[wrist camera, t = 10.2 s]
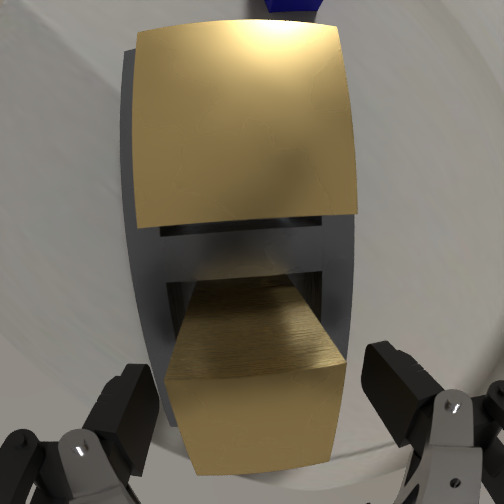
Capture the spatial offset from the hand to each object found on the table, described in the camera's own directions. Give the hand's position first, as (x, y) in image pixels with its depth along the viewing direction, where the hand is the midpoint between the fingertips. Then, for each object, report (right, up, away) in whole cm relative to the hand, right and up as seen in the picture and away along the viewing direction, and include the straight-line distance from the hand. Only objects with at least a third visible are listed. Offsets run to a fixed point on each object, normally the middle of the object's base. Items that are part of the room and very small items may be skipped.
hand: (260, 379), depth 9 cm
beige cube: (-1, +9, +3) cm, 10 cm away
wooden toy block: (-1, +1, +5) cm, 5 cm away
